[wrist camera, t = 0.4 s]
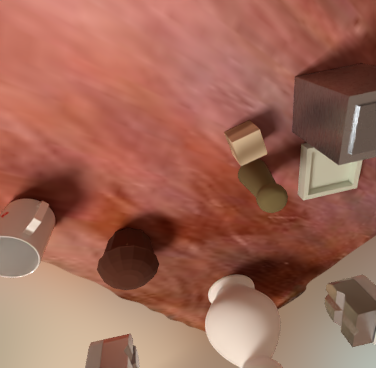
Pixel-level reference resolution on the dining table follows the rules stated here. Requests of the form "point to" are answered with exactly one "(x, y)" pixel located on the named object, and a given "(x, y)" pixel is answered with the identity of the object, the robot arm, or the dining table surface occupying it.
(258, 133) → the maple block
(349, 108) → the box
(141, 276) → the muffin
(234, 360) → the decorative vase
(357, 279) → the robot arm
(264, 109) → the dining table surface
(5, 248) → the mug
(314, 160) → the tray
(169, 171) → the dining table surface
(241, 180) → the cork
